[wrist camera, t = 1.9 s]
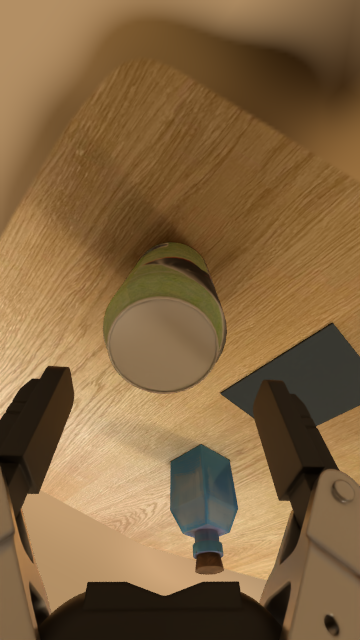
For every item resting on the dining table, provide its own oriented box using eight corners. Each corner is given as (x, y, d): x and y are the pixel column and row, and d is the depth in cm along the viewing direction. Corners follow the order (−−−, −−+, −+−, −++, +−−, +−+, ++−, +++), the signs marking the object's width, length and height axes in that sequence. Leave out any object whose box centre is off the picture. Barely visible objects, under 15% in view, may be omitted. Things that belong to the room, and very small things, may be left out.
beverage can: (154, 314, 24) (141, 432, 14) (114, 240, 20) (57, 332, 10) (219, 290, 23) (255, 402, 13) (189, 207, 19) (207, 276, 9)
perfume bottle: (199, 475, 41) (207, 581, 31) (170, 461, 39) (169, 571, 29) (229, 460, 39) (249, 569, 29) (201, 444, 36) (211, 557, 26)
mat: (220, 392, 30) (220, 393, 30) (332, 322, 25) (333, 323, 25) (284, 440, 36) (284, 441, 36) (386, 391, 31) (387, 392, 31)
